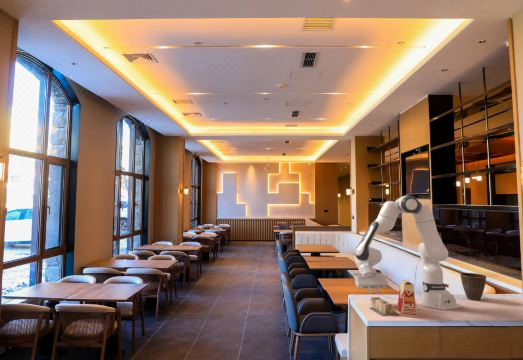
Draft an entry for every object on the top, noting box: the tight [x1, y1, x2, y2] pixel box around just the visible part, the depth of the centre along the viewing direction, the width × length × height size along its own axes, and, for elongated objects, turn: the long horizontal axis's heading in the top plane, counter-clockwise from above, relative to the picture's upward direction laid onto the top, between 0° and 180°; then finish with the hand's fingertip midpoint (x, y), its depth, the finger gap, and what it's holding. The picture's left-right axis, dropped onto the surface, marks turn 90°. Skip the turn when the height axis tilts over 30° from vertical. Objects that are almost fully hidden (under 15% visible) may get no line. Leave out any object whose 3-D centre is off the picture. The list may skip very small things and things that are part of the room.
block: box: [370, 296, 394, 314], centre depth 203 cm, size 5×5×15 cm
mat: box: [369, 306, 399, 317], centre depth 201 cm, size 10×14×1 cm
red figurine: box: [396, 278, 419, 318], centre depth 198 cm, size 9×9×20 cm
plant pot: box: [459, 272, 487, 302], centre depth 231 cm, size 15×15×16 cm
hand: (375, 293), depth 209 cm, fingers open, 2 cm apart
